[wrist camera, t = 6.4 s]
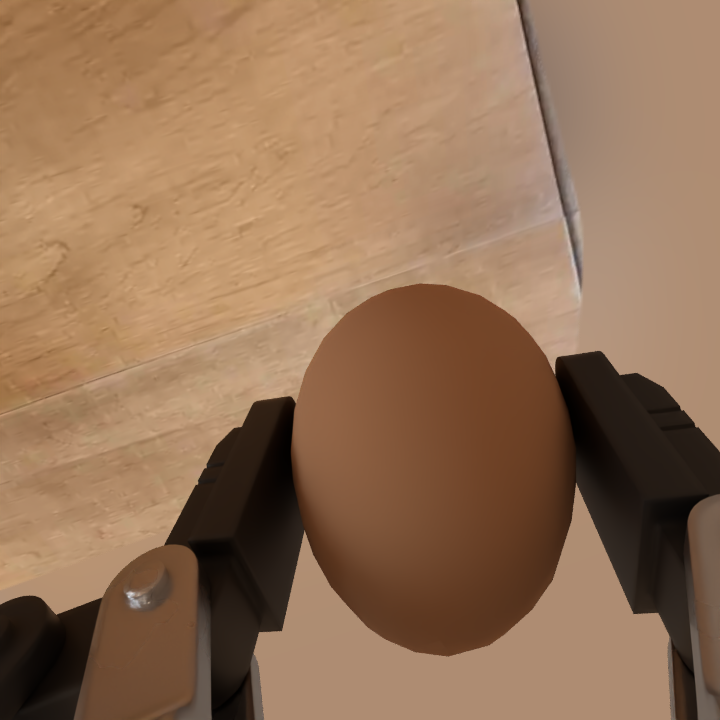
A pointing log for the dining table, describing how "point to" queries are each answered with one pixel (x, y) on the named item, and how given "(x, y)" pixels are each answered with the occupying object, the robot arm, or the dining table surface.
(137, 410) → the dining table surface
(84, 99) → the dining table surface
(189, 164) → the dining table surface
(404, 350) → the egg
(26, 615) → the robot arm
